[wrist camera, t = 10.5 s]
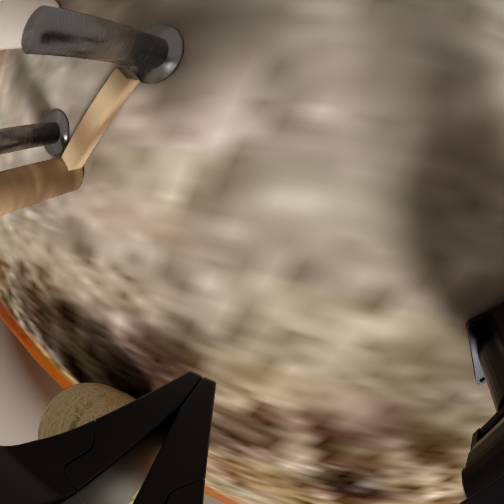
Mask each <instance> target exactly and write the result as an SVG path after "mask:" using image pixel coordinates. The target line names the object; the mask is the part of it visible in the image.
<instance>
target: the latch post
mask: <svg viewBox="0 0 504 504" xmlns="http://www.w3.org/2000/svg"><path fill="white" fill-rule="evenodd" d="M68 138H69V124H68V120H67V117H66V115H65V114H64V113H63V112H62V111H59V110H56V111H52V112H51V113H49V114H48V116H47V117H46V119H45V121H44V123H38V124H30V125H22V126H15V127H9V128H3V129H0V155H1V154H5V153H9V152H14V151H19V150H23V149H28V148H34V147H39V146H44V147H45V149H46V151H47V152H48V153H50V154H51V155H57V154H60V153H61V152H62V151H63V150H64V149H65V147H66V145H67V142H68Z"/></svg>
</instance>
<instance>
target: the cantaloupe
mask: <svg viewBox="0 0 504 504" xmlns="http://www.w3.org/2000/svg"><path fill="white" fill-rule="evenodd" d="M134 400H136V399H135V398H134V397H132V396H130V395H128V394H127V393H124V392H122V391H120V390H118V389H116V388H113V387H111V386H108V385H105V384H100V383H80V384H76V385H73V386H71V387H69V388H67V389H65V390H63V391H62V392H60V393H59V394H58V395H57V396H55V397H54V398H53V400H52V401H51V402H50V404H49V405H48V406H47V408H46V410H45V412H44V414H43V416H42V418H41V421H40V425H39V429H38V440H39V439H43V438H47V437H50V436H54V435H57V434H60V433H63V432H66V431H69V430H72V429H74V428H77V427H79V426H81V425H84V424H86V423H88V422H90V421H92V420H96V419H97V418H99V417H101V416H103V415H105V414H108V413H110V412H112V411H114V410H116V409H118V408H120V407H122V406H124V405H126V404H128V403H130V402H132V401H134ZM140 488H141V487H140ZM139 490H140V489H139ZM139 490H138V491H137V492H136V494H135V495H134V496H133V498H132V499H131V500H130V501H129V503H128V504H133V502H134V500H135V498H136V496H137V494H138V492H139Z"/></svg>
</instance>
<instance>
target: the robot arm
mask: <svg viewBox="0 0 504 504" xmlns="http://www.w3.org/2000/svg"><path fill="white" fill-rule="evenodd" d="M474 324H476V325H475V326H474V327H472V325H474ZM466 327H467V332H468V337H469V342H470V347H471V353H472V359H473V365H474V372H475V379H476V382H477V384H483V383H485V382H487V384H488V387H489V390H490V393H491V396H492V399H493V402H494V405H495V408H496V412H497V413H496V414H495V415H494V416H493V417H492V418H491V419H490V420H489V421H488V422H487V423H486V424H485V425H484V426H483V427H482V428H479V429H478V430H477V431H476V432H475V433H473V437H472V443H471V450H470V452H469V455H468V459H467V463H466V467H465V468H464V469H463V470H462V486H463V490H464V494H465V496H466V500H464V501H462V502H461V503H460V504H504V303H502V304H500V305H498V306H496V307H494V308H493V309H491V310H489V311H487V312H484V313H482V314H480V315H478V316H476V317H474V318H472V319H470V320H469V321H468V322H467V326H466ZM215 390H216V382H215V381H213V380H211V379H208V378H206V377H204V378H203V377H202V376H201V375H199V374H197V373H195V372H192V371H190V372H187V373H185V374H184V375H182V376H180V377H178V378H176V379H174V380H173V381H171V382H169V383H167V384H165V385H163V386H161V387H159V388H157V389H156V390H154V391H152V392H150V393H148V394H146V395H144V396H142V397H140V398H138V399H136V400H134V401H132V402H130V403H128V404H126V405H124V406H122V407H120V408H118V409H116V410H114V411H112V412H110V413H108V414H105V415H103V416H101V417H99V418H97V419H96V420H92V421H90V422H88V423H86V424H84V425H81V426H79V427H77V428H74V429H72V430H69V431H66V432H63V433H60V434H57V435H54V436H50V437H47V438H43V439H39V440H36V441H32V442H28V443H24V444H20V445H14V446H0V504H128V503H129V501H130V500H131V499H132V498H133V496H134V495H135V494H136V492H137V491H138V490H139V489H140V490H139V492H138V494H137V496H136V498H135V500H134V502H133V504H203V498H204V486H205V475H206V466H207V457H208V448H209V440H210V431H211V423H212V414H213V406H214V398H215ZM140 487H141V488H140Z"/></svg>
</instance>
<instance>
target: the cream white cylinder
mask: <svg viewBox="0 0 504 504" xmlns="http://www.w3.org/2000/svg"><path fill="white" fill-rule="evenodd" d="M43 5H46V6H51V7H56V8H59V4H58V3H57V2H56V1H55V0H0V50H6V49H22V46H21V39H22V34H23V30H24V27H25V25H26V23H27V21H28V19H29V17H30V16H31V14H32V13H33V12H34V11H35V10H36V9H37V8H38V7H40V6H43Z"/></svg>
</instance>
